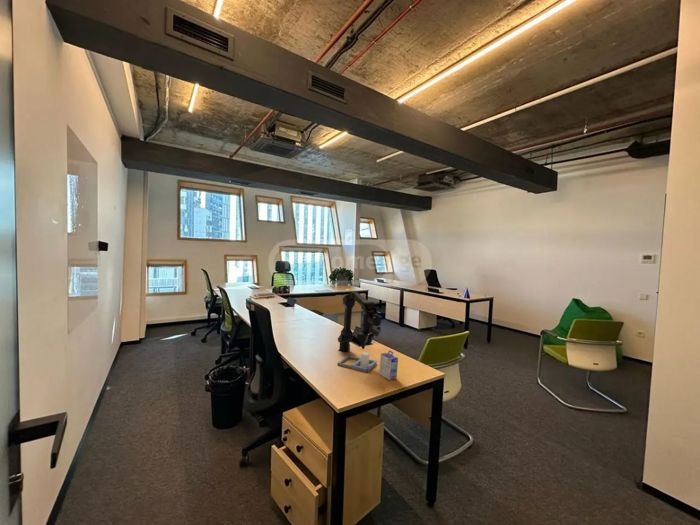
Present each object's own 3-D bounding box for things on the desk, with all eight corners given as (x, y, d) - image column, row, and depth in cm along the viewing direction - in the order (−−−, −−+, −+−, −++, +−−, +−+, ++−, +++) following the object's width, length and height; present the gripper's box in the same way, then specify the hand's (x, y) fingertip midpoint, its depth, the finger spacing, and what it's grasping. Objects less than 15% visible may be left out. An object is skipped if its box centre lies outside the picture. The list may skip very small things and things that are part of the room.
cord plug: (360, 366, 179) (360, 353, 179) (362, 364, 183) (363, 352, 182) (366, 368, 177) (367, 355, 177) (368, 365, 181) (369, 353, 180)
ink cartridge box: (397, 378, 165) (398, 353, 164) (389, 380, 162) (391, 355, 161) (386, 372, 173) (387, 348, 172) (378, 373, 170) (380, 349, 169)
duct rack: (337, 365, 179) (337, 361, 179) (348, 357, 193) (348, 354, 193) (367, 372, 171) (367, 369, 171) (376, 363, 185) (376, 360, 184)
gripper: (374, 327, 168) (372, 354, 169) (384, 321, 185) (383, 345, 185) (356, 324, 172) (355, 350, 173) (368, 318, 189) (367, 341, 190)
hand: (366, 346), depth 180 cm, fingers open, 9 cm apart
